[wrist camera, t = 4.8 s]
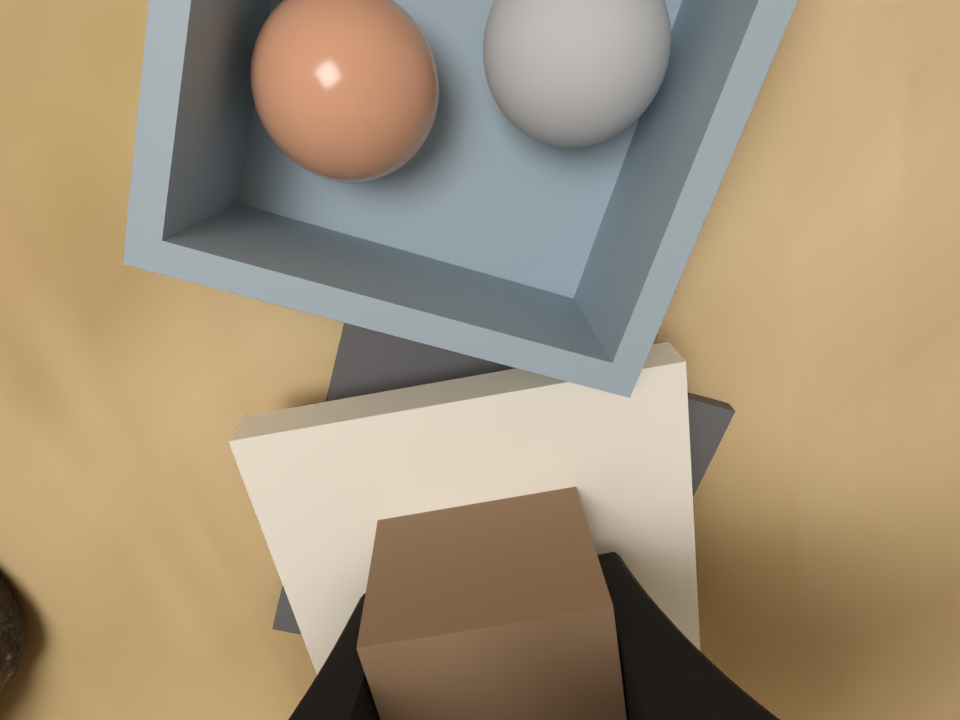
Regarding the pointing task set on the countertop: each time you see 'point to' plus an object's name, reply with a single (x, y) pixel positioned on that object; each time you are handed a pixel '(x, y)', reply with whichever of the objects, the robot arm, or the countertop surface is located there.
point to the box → (446, 193)
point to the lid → (480, 534)
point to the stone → (9, 636)
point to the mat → (406, 363)
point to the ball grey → (575, 65)
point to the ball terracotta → (345, 86)
